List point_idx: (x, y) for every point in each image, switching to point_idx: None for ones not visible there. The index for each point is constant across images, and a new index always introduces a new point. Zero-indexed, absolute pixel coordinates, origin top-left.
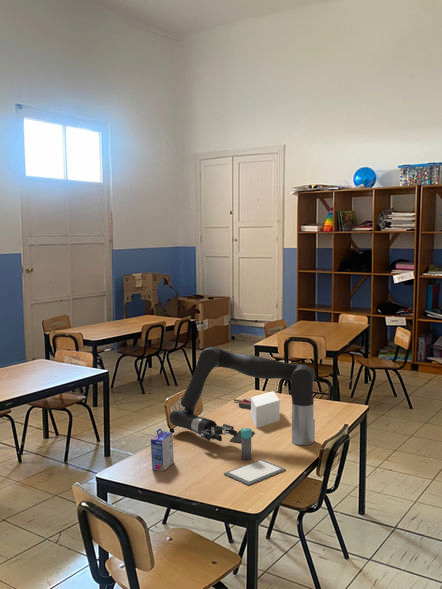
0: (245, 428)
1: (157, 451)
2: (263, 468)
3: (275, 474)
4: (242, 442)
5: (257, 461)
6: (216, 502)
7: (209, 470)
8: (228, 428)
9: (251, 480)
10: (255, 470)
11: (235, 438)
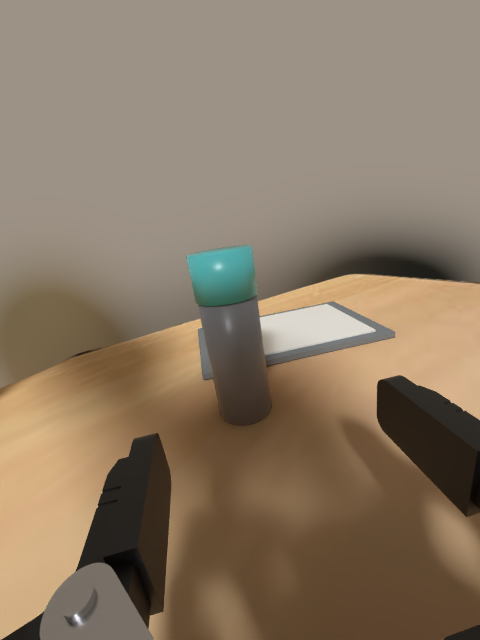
0: (207, 254)
1: None
2: None
3: None
4: (259, 316)
5: None
6: (425, 282)
7: (468, 363)
8: (122, 606)
9: (319, 305)
10: (281, 328)
11: None
